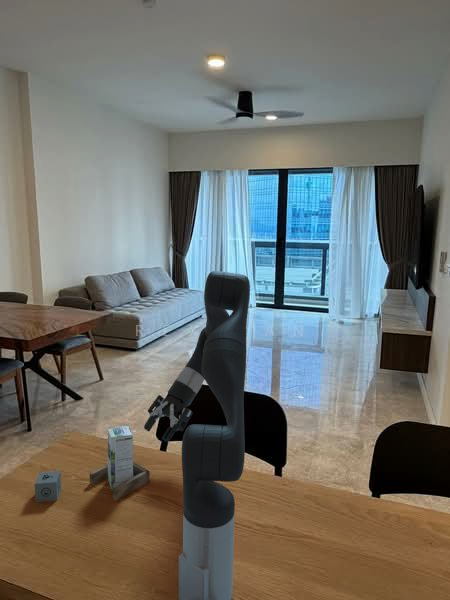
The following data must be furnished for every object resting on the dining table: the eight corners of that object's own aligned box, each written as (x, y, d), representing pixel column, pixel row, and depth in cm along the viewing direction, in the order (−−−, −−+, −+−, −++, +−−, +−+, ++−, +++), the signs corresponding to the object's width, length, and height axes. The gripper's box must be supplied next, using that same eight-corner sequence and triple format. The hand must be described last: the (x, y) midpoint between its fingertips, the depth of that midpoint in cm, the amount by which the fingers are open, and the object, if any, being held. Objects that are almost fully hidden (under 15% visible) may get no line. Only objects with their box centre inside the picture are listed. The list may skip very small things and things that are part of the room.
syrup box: (107, 479, 115) (106, 428, 113) (129, 474, 118) (128, 424, 115) (111, 491, 110) (110, 438, 108) (134, 485, 113) (133, 434, 110)
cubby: (115, 501, 106) (115, 489, 106) (89, 483, 113) (89, 473, 113) (149, 481, 115) (149, 471, 114) (123, 466, 122) (123, 456, 121)
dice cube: (40, 490, 110) (39, 472, 109) (61, 488, 111) (60, 470, 110) (35, 502, 105) (34, 483, 104) (57, 500, 106) (56, 482, 105)
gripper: (164, 373, 129) (132, 421, 123) (195, 386, 120) (163, 438, 113) (177, 385, 134) (148, 432, 128) (209, 399, 124) (178, 450, 118)
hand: (155, 435), depth 121 cm, fingers open, 8 cm apart
